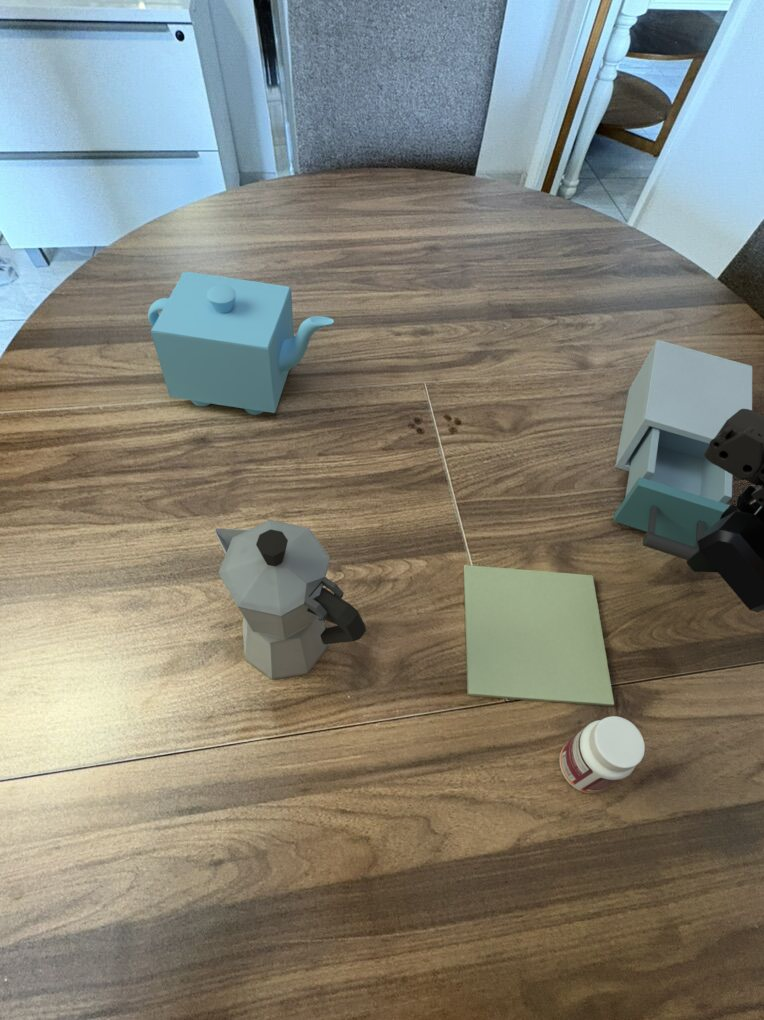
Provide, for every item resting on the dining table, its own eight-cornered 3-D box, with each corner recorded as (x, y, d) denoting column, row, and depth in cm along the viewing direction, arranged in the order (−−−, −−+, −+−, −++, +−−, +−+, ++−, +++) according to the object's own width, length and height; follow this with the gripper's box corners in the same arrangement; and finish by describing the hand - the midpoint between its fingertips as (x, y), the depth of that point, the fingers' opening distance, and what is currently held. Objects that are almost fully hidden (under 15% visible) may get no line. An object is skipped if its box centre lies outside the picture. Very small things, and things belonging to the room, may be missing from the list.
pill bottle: (617, 756, 56) (657, 731, 49) (600, 805, 54) (640, 785, 47) (568, 728, 57) (601, 699, 50) (550, 774, 55) (582, 751, 48)
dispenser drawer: (704, 590, 66) (740, 558, 60) (606, 558, 67) (632, 523, 62) (711, 464, 76) (742, 426, 71) (627, 438, 78) (650, 399, 72)
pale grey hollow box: (711, 497, 74) (752, 450, 67) (614, 467, 76) (645, 418, 69) (715, 415, 83) (752, 365, 75) (628, 390, 84) (656, 339, 77)
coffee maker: (205, 636, 60) (165, 538, 45) (263, 572, 64) (245, 463, 49) (328, 726, 56) (329, 650, 41) (382, 650, 60) (400, 558, 45)
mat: (591, 577, 67) (592, 575, 66) (612, 706, 59) (614, 704, 58) (463, 567, 66) (464, 564, 66) (467, 695, 58) (468, 693, 58)
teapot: (150, 403, 76) (120, 311, 65) (179, 345, 83) (156, 252, 71) (324, 430, 76) (324, 342, 65) (340, 369, 82) (342, 279, 71)
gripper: (826, 352, 49) (673, 459, 61) (748, 419, 37) (578, 534, 50) (930, 461, 47) (750, 549, 59) (881, 567, 35) (671, 649, 48)
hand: (691, 565), depth 54 cm, fingers closed
